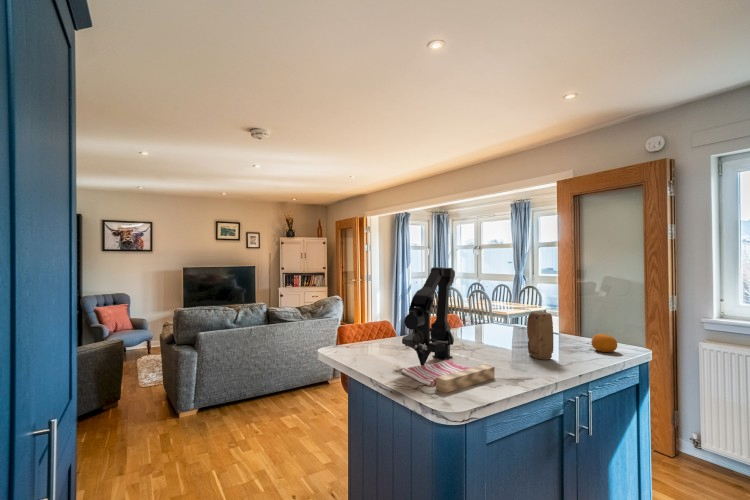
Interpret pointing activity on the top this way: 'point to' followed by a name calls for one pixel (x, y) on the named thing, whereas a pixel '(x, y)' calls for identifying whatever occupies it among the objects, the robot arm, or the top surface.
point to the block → (540, 335)
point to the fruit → (604, 343)
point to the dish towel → (432, 371)
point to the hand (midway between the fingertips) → (422, 365)
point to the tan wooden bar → (464, 378)
